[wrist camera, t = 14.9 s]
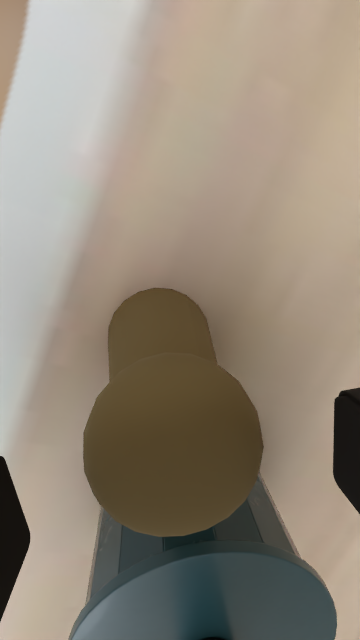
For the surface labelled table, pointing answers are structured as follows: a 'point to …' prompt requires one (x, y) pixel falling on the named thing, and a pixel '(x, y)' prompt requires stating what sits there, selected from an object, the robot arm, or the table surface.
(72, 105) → the table surface
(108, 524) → the pot
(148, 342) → the pepper mill
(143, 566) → the pot lid
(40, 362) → the table surface
